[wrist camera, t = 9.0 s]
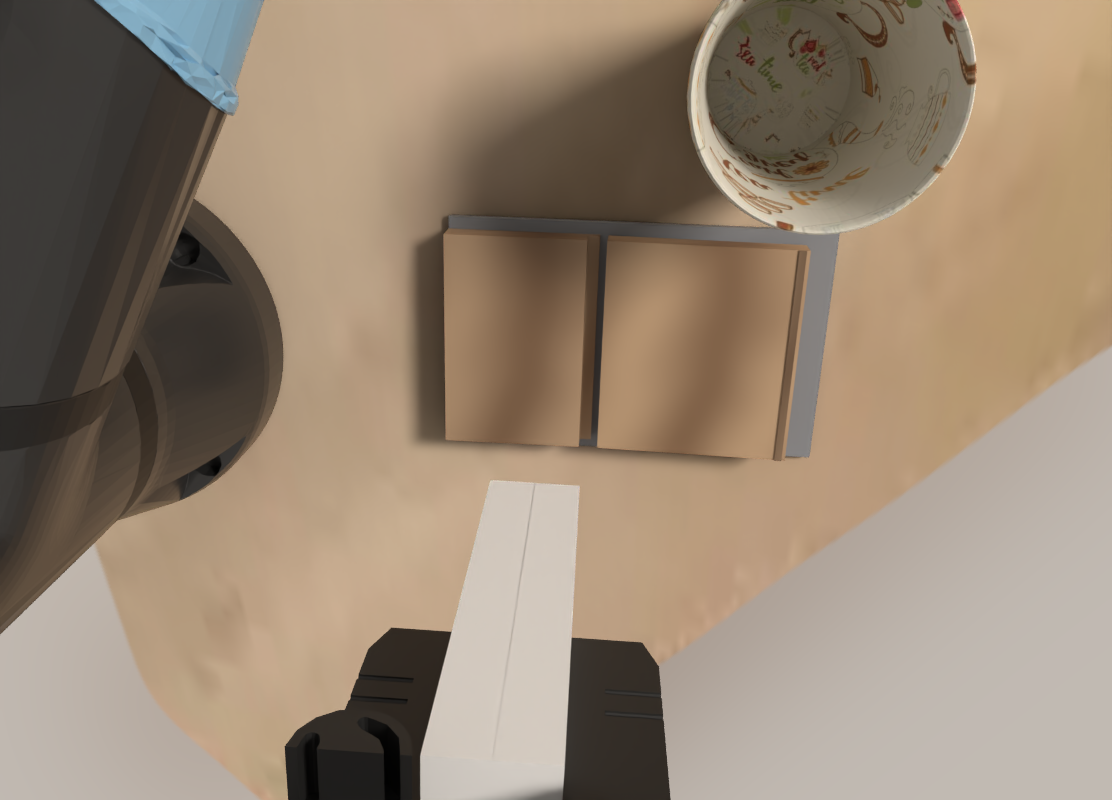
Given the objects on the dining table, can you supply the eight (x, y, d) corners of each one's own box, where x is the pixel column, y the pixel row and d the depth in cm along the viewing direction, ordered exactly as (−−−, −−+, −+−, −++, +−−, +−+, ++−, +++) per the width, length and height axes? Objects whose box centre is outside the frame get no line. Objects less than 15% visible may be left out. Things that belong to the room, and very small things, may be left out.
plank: (598, 437, 42) (596, 448, 41) (608, 235, 39) (607, 241, 38) (781, 449, 42) (784, 461, 41) (806, 245, 39) (811, 251, 37)
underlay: (451, 435, 43) (450, 438, 43) (450, 214, 40) (448, 216, 39) (807, 453, 43) (809, 457, 42) (837, 230, 39) (839, 232, 39)
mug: (626, 92, 38) (629, 109, 28) (863, -187, 34) (957, -275, 25) (776, 231, 39) (826, 290, 30) (1019, -21, 36) (1163, -44, 26)
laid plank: (450, 428, 43) (445, 440, 42) (448, 228, 40) (443, 234, 38) (590, 435, 42) (590, 447, 41) (600, 234, 39) (600, 240, 38)
